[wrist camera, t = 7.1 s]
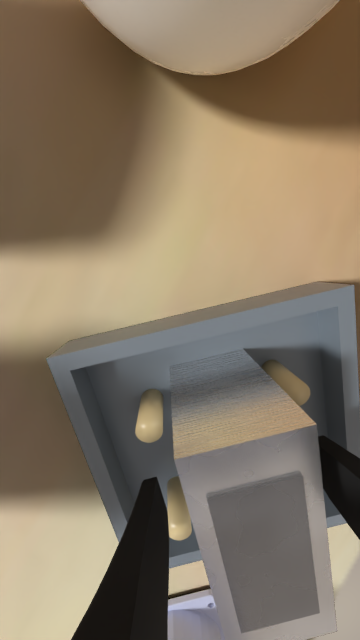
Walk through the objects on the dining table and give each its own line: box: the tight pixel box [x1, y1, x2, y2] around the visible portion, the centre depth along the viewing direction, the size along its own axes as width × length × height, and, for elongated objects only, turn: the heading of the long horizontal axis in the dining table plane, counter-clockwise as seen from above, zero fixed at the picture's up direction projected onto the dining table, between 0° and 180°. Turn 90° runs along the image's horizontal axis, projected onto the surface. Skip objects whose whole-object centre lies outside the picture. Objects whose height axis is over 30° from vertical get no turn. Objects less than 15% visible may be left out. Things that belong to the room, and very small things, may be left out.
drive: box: [169, 349, 337, 640], centre depth 10 cm, size 9×4×6 cm, turn 13°
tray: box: [46, 282, 360, 568], centre depth 12 cm, size 14×14×4 cm
